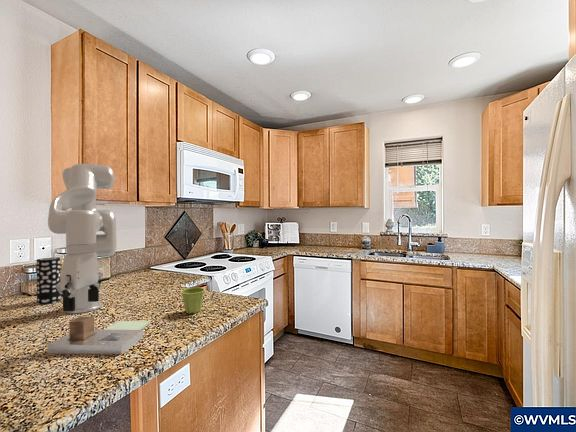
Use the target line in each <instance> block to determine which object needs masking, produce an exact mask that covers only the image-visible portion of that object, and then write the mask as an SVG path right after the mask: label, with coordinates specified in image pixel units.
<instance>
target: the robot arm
mask: <svg viewBox="0 0 576 432" xmlns="http://www.w3.org/2000/svg"><path fill="white" fill-rule="evenodd" d="M115 180H116V179H115V172H114V170H113V168H112V167H110V166H108V165H106V164H105V165H104V164H92V163H77V164H74V165H72V166H71V167H66V168H64V169H63V171H62V181H63V184H64V186H65V188H66V190H64V191H63V192H61V193H59V194H58V195H57V196H55V197H54V198H53V200H52V201H51V202H50V205H49V209H48V217H47V227H48V229H49V230H50V232H52V233H53V234H57V235H58V234H59V235H60V234H61V235H62V234H63V235H64V234H65V254H66V255H65V256H64V257H63V259H62V264H61V270H60V282H59V283H58V284H57V285H56V288H57V290H58V294H59V295H60V299H62V311H63V312H66V313H67V314H82V313H87V312H92V311H95V310H98V309H100V308H101V307H102V306H103V303H102V302H101V301H99V300H100V293H99V292H100V288H101V284H102V282H103V275H104V274H103V272H101V271H99V268H100V267H99V261H98V260H99V259H98V257H107V256H112V255H114V254H115V253H116V251H117V218H116V215H115V212H113V211H112V210H110V209H97V207H96V206H97V204H96V202H97V201H96V198H97V195H98V194H97V193H98V192H97V190H98V189H99V190H100V189H101V190H109V189H112V187H113V186H114V184H115ZM69 209H70V210H69ZM97 232H103V234H97Z"/></svg>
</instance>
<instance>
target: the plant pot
mask: <svg viewBox="0 0 576 432" xmlns="http://www.w3.org/2000/svg"><path fill="white" fill-rule="evenodd" d="M205 291H206V289H205V288H203V287H188V288H185V289H182V290H181V291H180V293H181V296H182V299H183V305H184V310H185V313H187V314H192V313H193V314H197V313H200V312H201V310H202V305H203V297H204V292H205Z"/></svg>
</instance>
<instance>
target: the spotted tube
mask: <svg viewBox="0 0 576 432" xmlns="http://www.w3.org/2000/svg"><path fill="white" fill-rule="evenodd" d="M60 281H61V257H43V258H38V259H36V305H40V306H41V305H42V306H43V305H52V304H56V303H58V301H59V302H60V301H61V295H59V294H58V290H57V288H56V285H57V284H58V283H59V282H60Z"/></svg>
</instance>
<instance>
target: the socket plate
mask: <svg viewBox="0 0 576 432" xmlns="http://www.w3.org/2000/svg"><path fill="white" fill-rule="evenodd" d="M143 338H144V329H142V330H104V329H99V328H98V329H95V328H94V335H93V336H91V337H89V338H88V339H86V340H84V341H73V340H70V337H69V333H67V334H65V335H64V336H61V337H59V338H58V339H55V340H54V341H52V342H50V343H48V344H47V354H74V355H75V354H79V355H82V354H83V355H86V354H88V355H90V354H91V355H94V354H95V355H122V354H124V353H125V352H127V350H129V349H130V348H132V347H133V346H134V345H135V344H136V343H139V341H141V340H142V339H143Z"/></svg>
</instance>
